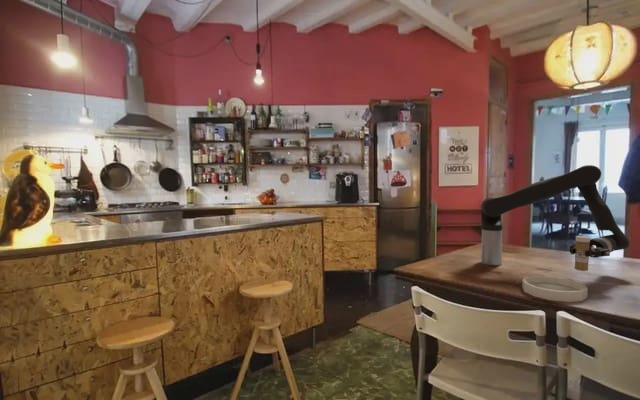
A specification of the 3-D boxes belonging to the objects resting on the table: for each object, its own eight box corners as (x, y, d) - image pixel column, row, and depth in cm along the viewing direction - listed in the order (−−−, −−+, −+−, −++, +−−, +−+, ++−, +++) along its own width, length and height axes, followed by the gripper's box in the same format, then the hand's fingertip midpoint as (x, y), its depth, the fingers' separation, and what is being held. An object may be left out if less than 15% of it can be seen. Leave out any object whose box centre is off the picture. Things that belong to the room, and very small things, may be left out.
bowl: (527, 298, 131) (527, 288, 130) (519, 282, 149) (520, 274, 149) (593, 304, 123) (594, 294, 123) (577, 287, 141) (577, 278, 141)
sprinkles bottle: (573, 270, 142) (575, 236, 141) (574, 267, 145) (576, 234, 144) (588, 272, 139) (589, 237, 138) (588, 269, 142) (590, 236, 141)
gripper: (578, 235, 155) (559, 240, 146) (619, 241, 143) (601, 246, 134) (577, 252, 156) (558, 258, 146) (618, 259, 144) (600, 266, 134)
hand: (579, 252), depth 140 cm, fingers closed on sprinkles bottle, 4 cm apart
